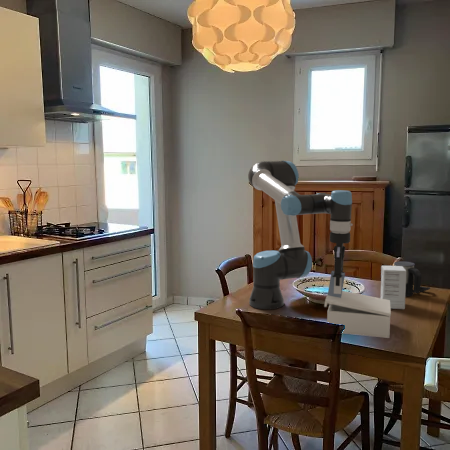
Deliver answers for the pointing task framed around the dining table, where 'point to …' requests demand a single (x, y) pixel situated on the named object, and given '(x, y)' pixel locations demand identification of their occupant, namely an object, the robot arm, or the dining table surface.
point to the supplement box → (393, 285)
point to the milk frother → (411, 274)
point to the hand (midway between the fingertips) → (337, 292)
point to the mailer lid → (356, 300)
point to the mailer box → (359, 321)
